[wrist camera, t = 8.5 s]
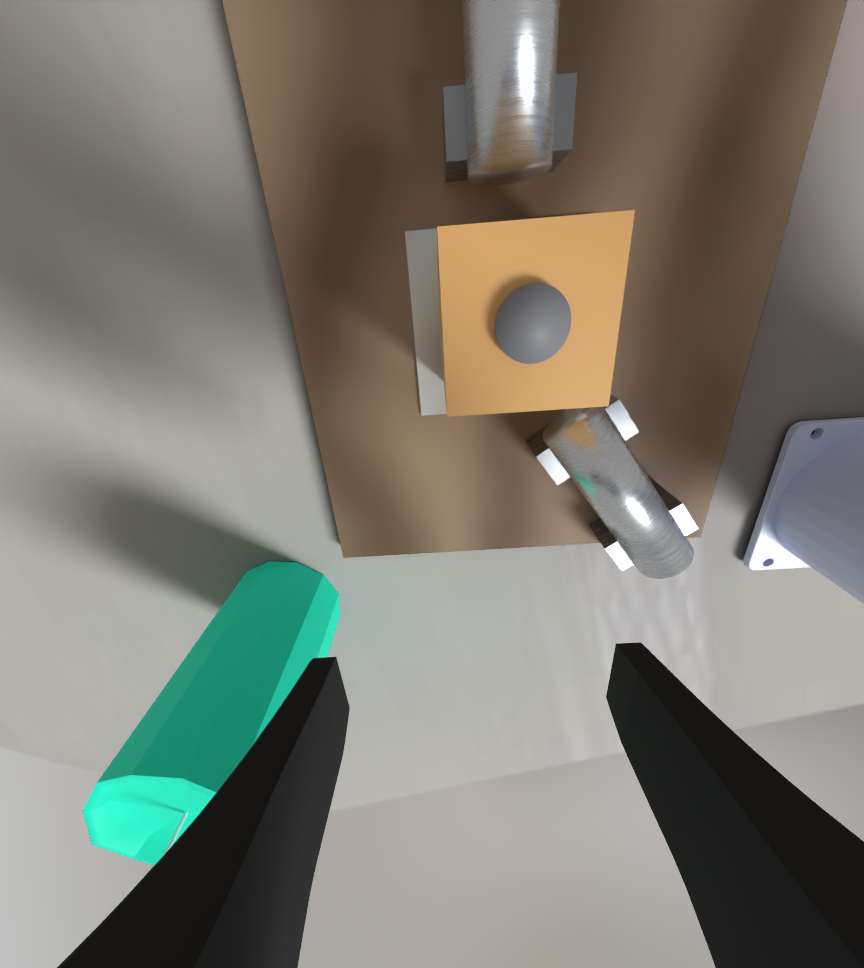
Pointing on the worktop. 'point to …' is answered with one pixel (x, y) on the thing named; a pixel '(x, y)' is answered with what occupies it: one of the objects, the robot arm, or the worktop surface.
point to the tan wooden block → (531, 311)
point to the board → (566, 191)
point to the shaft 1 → (508, 95)
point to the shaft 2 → (617, 489)
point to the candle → (212, 709)
